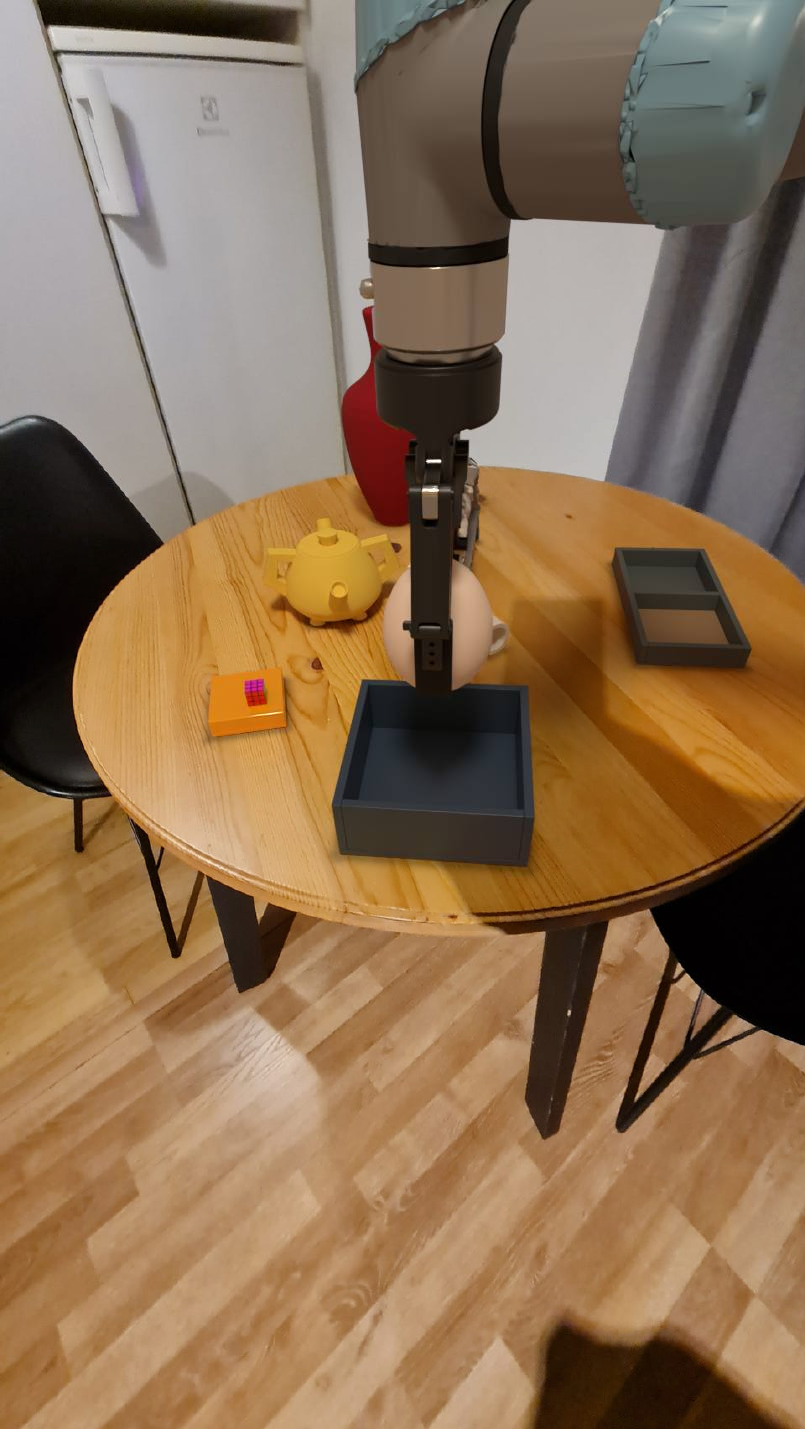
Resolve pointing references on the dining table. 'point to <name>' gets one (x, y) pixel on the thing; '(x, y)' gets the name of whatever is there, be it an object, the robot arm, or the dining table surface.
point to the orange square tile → (247, 702)
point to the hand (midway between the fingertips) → (438, 656)
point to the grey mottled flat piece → (470, 514)
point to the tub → (437, 775)
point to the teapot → (331, 573)
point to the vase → (375, 445)
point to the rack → (677, 609)
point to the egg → (468, 627)
